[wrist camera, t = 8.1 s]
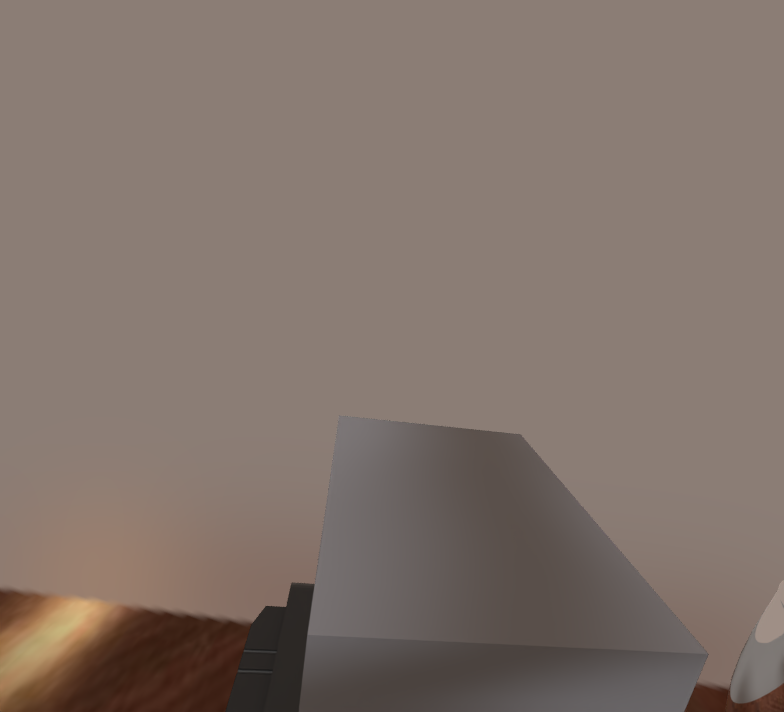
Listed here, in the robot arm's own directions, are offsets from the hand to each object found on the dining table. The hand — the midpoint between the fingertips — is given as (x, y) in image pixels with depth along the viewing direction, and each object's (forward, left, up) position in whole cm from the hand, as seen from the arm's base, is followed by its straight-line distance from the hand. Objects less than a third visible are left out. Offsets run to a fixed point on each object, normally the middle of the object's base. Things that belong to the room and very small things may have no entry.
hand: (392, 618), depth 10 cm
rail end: (0, -3, -9) cm, 9 cm away
